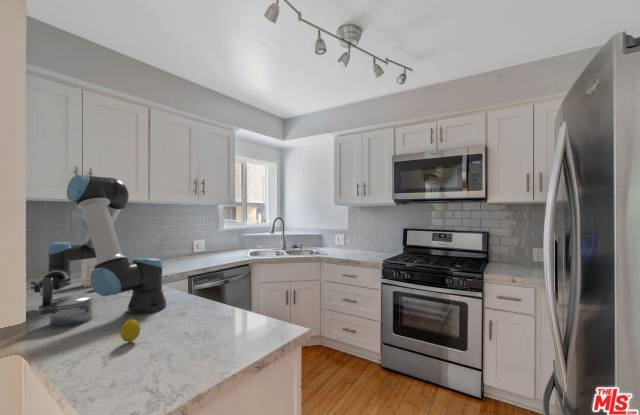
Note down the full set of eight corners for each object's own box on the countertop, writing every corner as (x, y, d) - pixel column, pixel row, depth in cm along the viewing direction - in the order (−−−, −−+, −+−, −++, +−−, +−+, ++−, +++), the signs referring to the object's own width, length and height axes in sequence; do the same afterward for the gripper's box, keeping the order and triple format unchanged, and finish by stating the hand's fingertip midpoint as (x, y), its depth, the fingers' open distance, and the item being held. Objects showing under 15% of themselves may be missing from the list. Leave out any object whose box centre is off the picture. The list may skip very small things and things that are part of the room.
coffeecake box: (110, 280, 184) (110, 250, 184) (114, 282, 180) (114, 251, 180) (81, 285, 172) (81, 253, 172) (84, 287, 168) (85, 254, 168)
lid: (79, 294, 124) (79, 269, 124) (100, 298, 120) (100, 271, 120) (30, 307, 108) (30, 278, 109) (52, 311, 104) (52, 280, 104)
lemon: (125, 348, 93) (125, 323, 93) (117, 343, 96) (117, 320, 96) (143, 341, 98) (143, 318, 98) (135, 337, 101) (135, 315, 101)
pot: (83, 313, 125) (84, 295, 125) (99, 319, 118) (99, 299, 118) (32, 326, 110) (32, 306, 110) (46, 334, 104) (47, 312, 104)
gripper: (73, 286, 131) (64, 299, 112) (34, 290, 124) (18, 305, 104) (73, 269, 131) (65, 280, 112) (35, 273, 124) (18, 285, 105)
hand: (42, 292), depth 108 cm, fingers closed
